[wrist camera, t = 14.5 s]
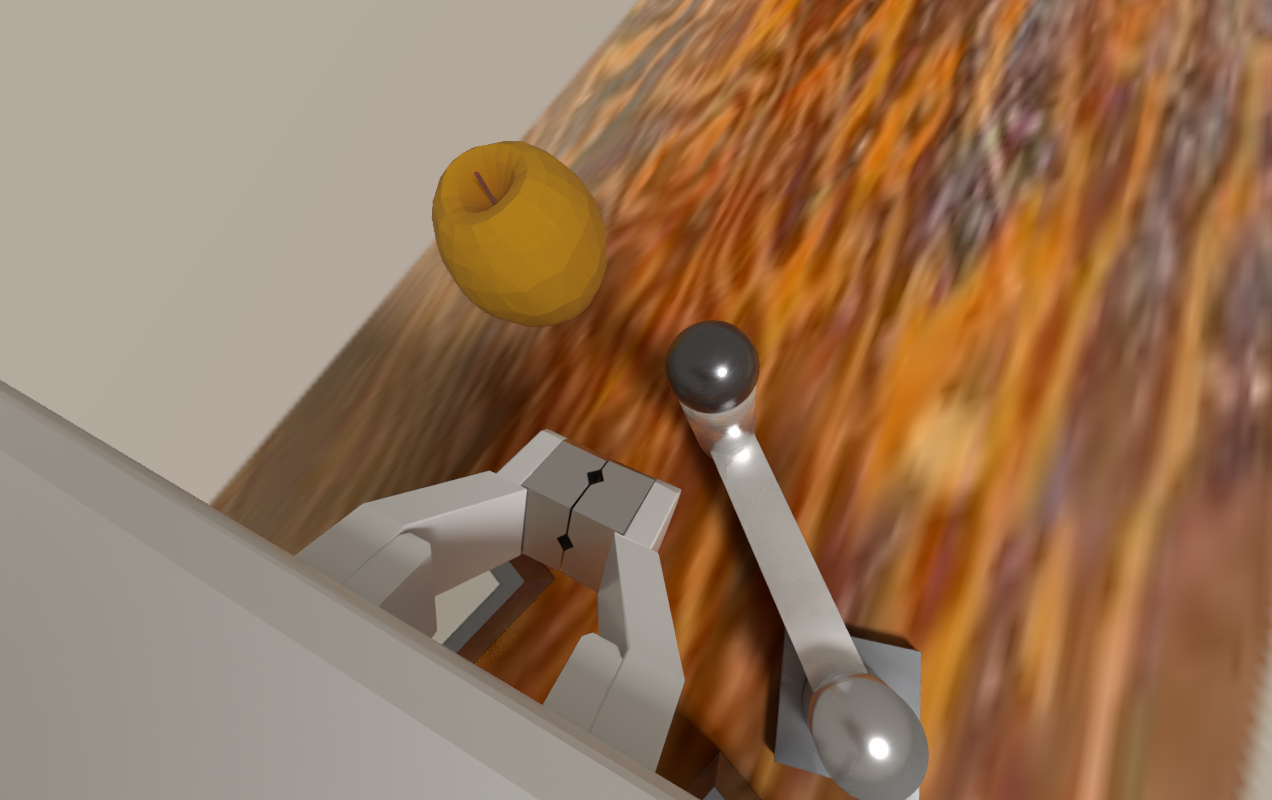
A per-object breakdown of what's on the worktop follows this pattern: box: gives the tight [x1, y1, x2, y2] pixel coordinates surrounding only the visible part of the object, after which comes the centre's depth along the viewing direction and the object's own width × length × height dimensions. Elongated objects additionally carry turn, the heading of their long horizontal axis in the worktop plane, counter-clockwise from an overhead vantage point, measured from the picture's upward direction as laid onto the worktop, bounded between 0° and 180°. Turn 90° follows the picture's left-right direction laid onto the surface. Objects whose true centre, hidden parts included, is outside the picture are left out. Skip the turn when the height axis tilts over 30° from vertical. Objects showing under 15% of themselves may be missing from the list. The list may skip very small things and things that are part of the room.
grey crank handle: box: [665, 320, 929, 800], centre depth 19 cm, size 18×4×12 cm, turn 20°
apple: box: [432, 141, 606, 327], centre depth 29 cm, size 10×10×12 cm
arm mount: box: [774, 627, 921, 800], centre depth 22 cm, size 6×6×1 cm
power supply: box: [432, 553, 555, 664], centre depth 27 cm, size 6×10×4 cm, turn 135°
